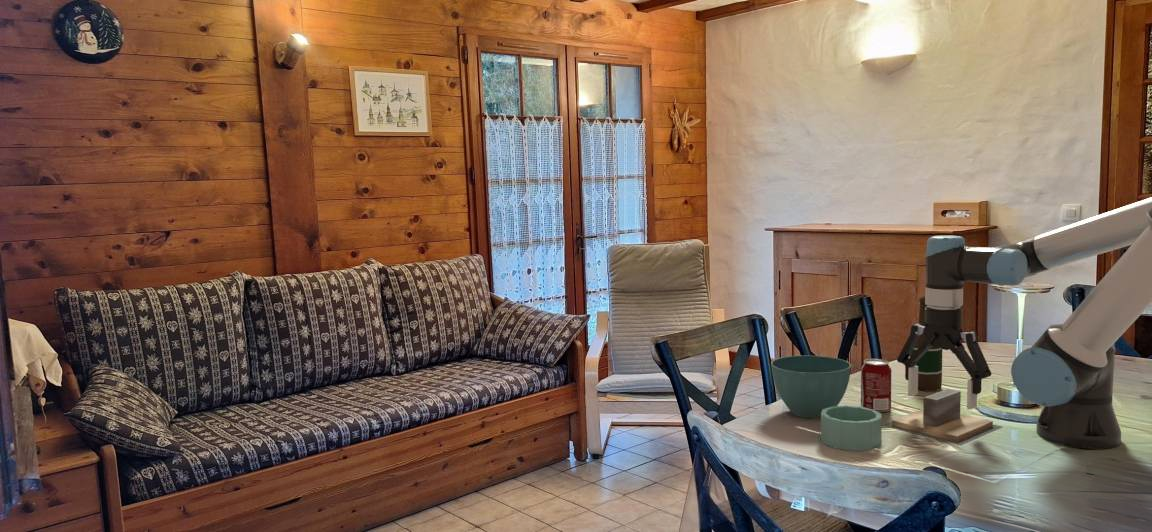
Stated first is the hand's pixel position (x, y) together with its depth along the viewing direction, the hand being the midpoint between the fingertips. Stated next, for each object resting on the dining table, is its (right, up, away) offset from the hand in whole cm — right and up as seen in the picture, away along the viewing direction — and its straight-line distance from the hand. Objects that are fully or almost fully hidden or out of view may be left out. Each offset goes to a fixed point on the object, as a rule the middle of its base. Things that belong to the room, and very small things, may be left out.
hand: (941, 401), depth 178 cm
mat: (0, -6, +1) cm, 6 cm away
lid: (0, -6, +1) cm, 6 cm away
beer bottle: (+11, -2, +33) cm, 35 cm away
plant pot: (-25, -6, +14) cm, 29 cm away
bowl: (-22, -8, -6) cm, 24 cm away
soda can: (-9, -5, +15) cm, 18 cm away
